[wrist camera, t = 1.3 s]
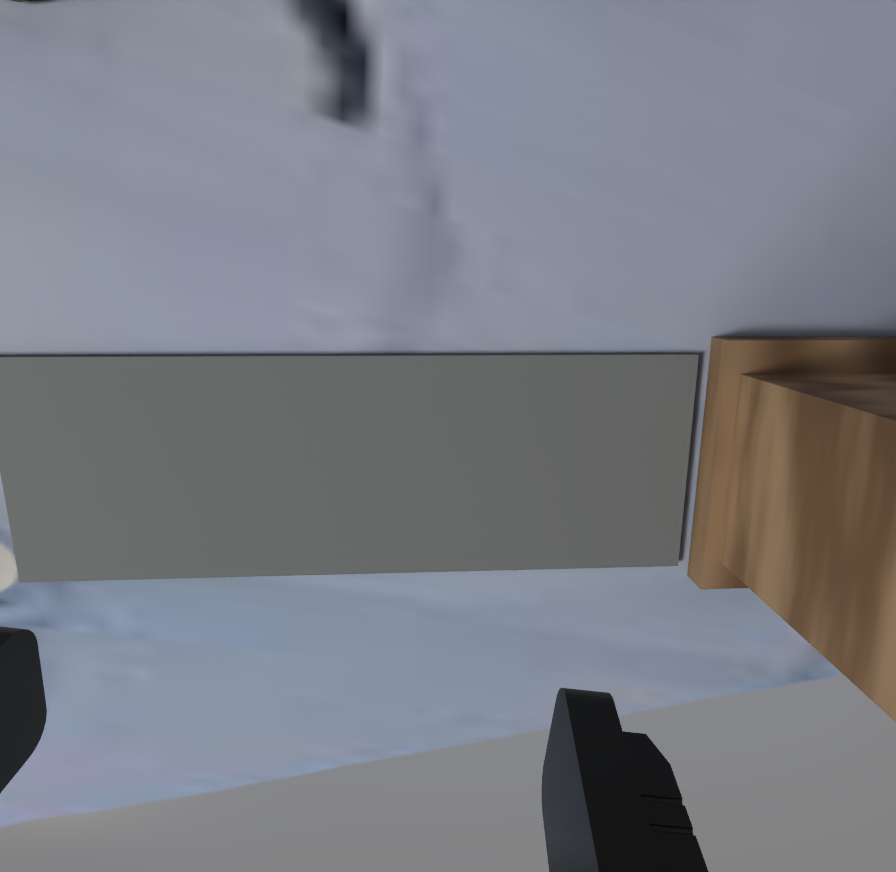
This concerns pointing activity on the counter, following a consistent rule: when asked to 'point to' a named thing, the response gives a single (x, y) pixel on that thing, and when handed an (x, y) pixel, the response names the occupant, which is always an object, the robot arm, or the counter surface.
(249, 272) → the counter surface
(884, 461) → the brown tall ridged block
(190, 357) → the rubber mat
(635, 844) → the robot arm
